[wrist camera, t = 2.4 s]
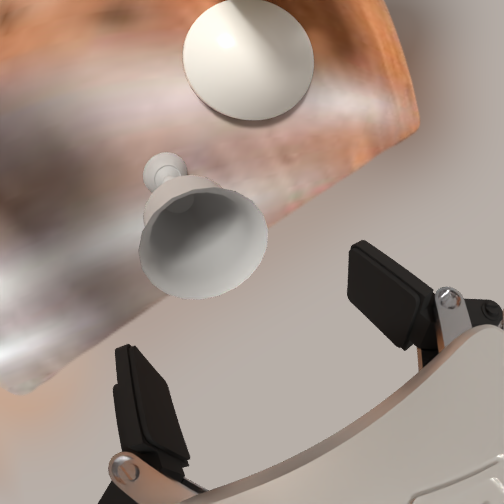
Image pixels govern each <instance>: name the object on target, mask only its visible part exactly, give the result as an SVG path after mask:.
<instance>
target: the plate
mask: <svg viewBox="0 0 504 504" xmlns="http://www.w3.org/2000/svg"><path fill="white" fill-rule="evenodd" d="M182 63H183V69H184V73H185V76H186V79H187V81H188V83H189V85H190V86H191V88H192V89H193V91H194V92H195V94H196V95H197V96H198V97H199V98H200V99H201V100H202V101H203V102H204V103H205V104H206V105H208V106H209V107H211V108H212V109H214V110H215V111H217V112H219V113H221V114H223V115H226V116H229V117H232V118H237V119H243V120H264V119H269V118H273V117H276V116H278V115H281V114H283V113H285V112H286V111H288V110H290V109H291V108H292V107H294V106H295V105H296V104H297V103H298V102H299V101H300V100H301V99H302V97H303V96H304V94H305V93H306V91H307V89H308V88H309V85H310V83H311V80H312V76H313V70H314V55H313V50H312V46H311V43H310V40H309V38H308V36H307V34H306V32H305V30H304V29H303V27H302V26H301V25H300V23H299V22H298V21H297V20H296V19H295V18H294V17H293V16H292V15H291V14H290V13H288V12H287V11H285V10H284V9H282V8H281V7H279V6H277V5H275V4H273V3H270V2H267V1H264V0H227V1H224V2H221V3H218V4H216V5H214V6H213V7H211V8H209V9H208V10H206V11H205V12H204V13H203V14H202V15H201V16H200V17H199V18H198V19H197V20H196V21H195V22H194V24H193V25H192V26H191V28H190V29H189V31H188V33H187V35H186V38H185V41H184V44H183V50H182Z"/></svg>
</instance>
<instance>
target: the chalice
mask: <svg viewBox="0 0 504 504" xmlns="http://www.w3.org/2000/svg"><path fill="white" fill-rule="evenodd" d="M143 180H144V183H145V185H146V187H147V188H148V189H149V190H150V191H151V192H153V193H152V195H151V196H150V198H149V199H148V201H147V203H146V206H145V210H144V215H143V219H144V225H145V228H144V230H143V231H142V235H141V241H140V246H139V256H140V261H141V266H142V270H143V271H144V273H145V274H146V276H147V277H148V279H149V280H150V281H151V283H152V284H153V285H154V286H156V287H157V288H159V289H160V290H162V291H163V292H165V293H166V294H168V295H172V296H175V297H178V298H182V299H196V300H202V299H206V298H212V297H216V296H220V295H222V294H224V293H226V292H228V291H231V290H233V289H235V288H236V287H238V286H239V285H240V284H242V283H243V282H244V281H245V280H247V279H248V278H249V277H250V276H251V275H252V273H253V272H254V271H255V270H256V268H257V267H258V266H259V265H260V263H261V261H262V259H263V256H264V253H265V251H266V248H267V240H268V229H267V225H266V222H265V219H264V216H263V214H262V212H261V211H260V210H259V209H258V208H257V206H256V205H255V204H254V203H253V201H252V200H250V199H248V198H246V197H245V196H243V195H241V194H239V193H238V192H236V191H232V190H227V189H223V188H222V187H221V186H220V185H219V184H217V183H215V182H214V181H212V180H210V179H208V178H206V177H201V176H196V175H187V168H186V165H185V162H184V161H183V160H182V159H181V157H179V156H177V155H176V154H174V153H169V152H165V153H160V154H157V155H155V156H153V157H152V158H151V159H150V160H149V161H148V162H147V164H146V166H145V167H144V172H143Z"/></svg>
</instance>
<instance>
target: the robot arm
mask: <svg viewBox="0 0 504 504" xmlns="http://www.w3.org/2000/svg"><path fill="white" fill-rule="evenodd" d="M347 296H348V299H349V300H350V302H351V303H352V304H354V305H355V306H356V307H357V308H358V309H359V310H360V311H361V312H362V313H363V314H364V315H365V316H366V317H367V318H368V319H369V320H370V321H371V322H372V323H373V324H374V325H375V326H376V327H377V328H378V329H379V330H380V331H381V332H383V334H384V335H385V336H387V338H388V339H390V340H391V341H392V342H393V343H394V344H395V345H396V346H397V347H399V348H402V349H403V350H404V351H405V350H407V349H408V348H409V347H410V346H412V345H413V344H414V345H415V346H417V355H418V369H419V372H418V373H417V374H416V375H415V376H414V377H413V378H411V379H410V380H409V381H408V382H407V383H405V384H404V385H403V386H402V387H401V388H399V389H398V390H397V391H396V392H394V393H393V394H392V395H391V396H389V397H388V398H387V399H385V400H384V401H383V402H381V403H380V404H379V405H377V406H376V407H375V408H373V409H372V410H370V411H369V412H368V413H366V414H365V415H363V416H362V417H361V418H359V419H357V420H356V421H354V422H353V423H351V424H350V425H348V426H347V427H345V428H343V429H342V430H340V431H339V432H337V433H335V434H334V435H332V436H330V437H329V438H327V439H325V440H323V441H322V442H320V443H318V444H316V445H314V446H313V447H311V448H309V449H307V450H305V451H303V452H301V453H299V454H298V455H295V456H293V457H291V458H289V459H287V460H285V461H283V462H281V463H279V464H277V465H274V466H272V467H270V468H268V469H265V470H263V471H261V472H258V473H255V474H253V475H251V476H248V477H246V478H243V479H240V480H238V481H235V482H233V483H230V484H227V485H224V486H221V487H218V488H215V489H213V490H210V491H209V490H207V489H205V488H203V487H201V486H199V485H198V484H196V483H194V482H192V481H191V480H189V479H187V478H185V477H184V476H185V475H184V472H183V469H182V468H183V467H187V466H189V464H188V461H187V460H189V459H190V455H189V452H188V449H187V446H186V443H185V441H184V438H183V435H182V432H181V429H180V426H179V423H178V419H177V416H176V414H175V409H174V406H173V403H172V399H171V396H170V392H169V388H168V385H167V383H166V381H165V380H164V379H163V378H162V377H161V376H160V374H159V373H158V372H157V371H156V370H155V369H154V368H153V366H152V365H151V364H150V363H149V362H148V360H147V359H146V358H145V357H144V356H143V354H142V353H141V352H140V351H139V350H138V348H137V347H136V346H131V345H130V344H127V345H124V346H122V347H119V348H116V349H115V358H116V372H117V381H118V384H116V385H114V387H113V396H114V404H115V412H116V419H117V425H118V431H119V437H120V443H121V448H122V452H120V453H118V454H116V455H114V456H113V457H112V458H111V460H110V462H109V467H108V471H109V475H110V478H111V480H112V481H111V483H110V484H109V486H108V488H107V489H106V491H105V493H104V494H103V496H102V498H101V499H100V501H99V503H98V504H504V309H503V311H502V309H501V308H500V306H499V305H498V304H497V303H496V302H494V301H492V300H482V299H481V300H480V299H464V298H463V296H462V295H461V293H460V292H459V291H457V290H456V289H454V288H451V287H442V288H440V289H438V290H437V291H436V294H434V293H433V289H432V288H430V287H429V286H428V285H427V284H425V283H424V282H422V281H421V280H420V279H419V278H417V277H416V276H415V275H413V274H412V273H410V272H409V271H408V270H407V269H405V268H404V267H402V266H401V265H400V264H398V263H397V262H395V261H394V260H393V259H391V258H390V257H388V256H387V255H386V254H384V253H383V252H381V251H380V250H378V249H377V248H375V247H374V246H372V245H371V244H370V243H368V242H367V241H365V240H361V241H359V242H358V243H356V244H353V245H352V246H351V250H350V251H349V266H348V288H347Z"/></svg>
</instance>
